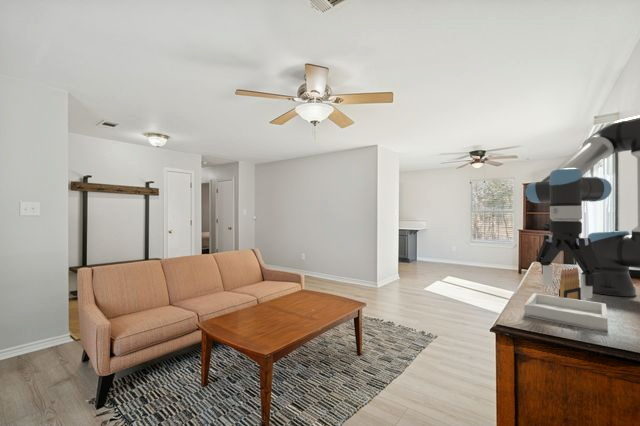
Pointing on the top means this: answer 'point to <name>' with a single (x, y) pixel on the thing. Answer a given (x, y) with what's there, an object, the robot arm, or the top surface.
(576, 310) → the tray
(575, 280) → the ammunition clip
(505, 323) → the top surface
